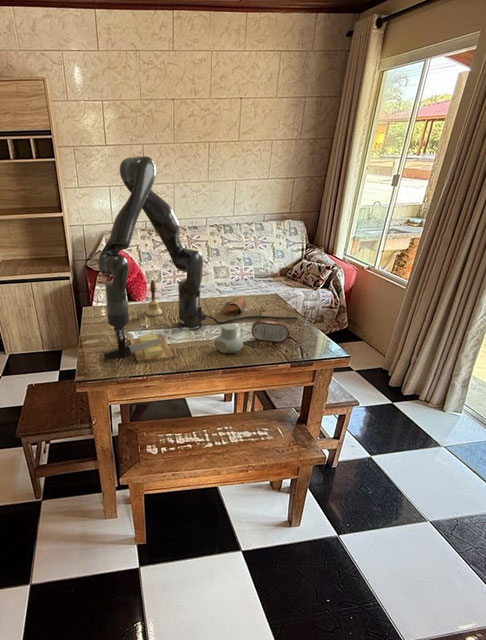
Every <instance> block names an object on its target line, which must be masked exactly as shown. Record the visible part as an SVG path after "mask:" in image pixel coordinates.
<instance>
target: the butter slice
mask: <svg viewBox="0 0 486 640" xmlns="http://www.w3.org/2000/svg"><path fill="white" fill-rule="evenodd" d="M143 355H144V356H145V358H146V357H152V356H158V355H163V350H162V348H161V347H160V346H159V347H153V348H147V349H143Z"/></svg>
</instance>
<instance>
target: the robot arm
mask: <svg viewBox="0 0 486 640" xmlns="http://www.w3.org/2000/svg"><path fill="white" fill-rule="evenodd" d="M119 176H120V178H121V180H122V183H123V184H124V186H125V187H126V188H127V190H128V191H129V192H130V195H129V197H128V198H127V200H126V202H125V203H124V204H123V206H122V207H121V209H120V210H119V211H118V213H117V215H116V217H115V219H114V221H113V224H112V228H111V231H110V235H109V238H108V240H107V242H106V243H105V245H104V247H103V249H102V250H101V252H100V254H99V256H98V260H97V266H98V270H99V271H100V272H101V273H103V274H105V275H109V276H112V280H110V281H108V282H106V283H105V285H104V287H105V297H106V298H105V299H106V313H107V323H108V325H109V326H112V327H113V332H114V338H115V341H116V344H117V348H119V356H123V357H125V346H126V345H127V344H126V341H127V340H126V333H127V332H126V328H125V326H126V325H128V324H129V323H130V318H129V317H130V316H129V315H130V314H129V305H128V300H127V290H126V287H127V280H128V275H129V269H130V265H129V261H128V259H127V258H126V256H124V255H122V254H119V253H120V252H121V251H123V250H127V249H128V248H130V244H131V242H132V237H133V234H134V231H135V227H136V223H137V222H138V218H139V216H140V214H141V212H142V211H143V212H144V214H145V216H146V217H147V219H148V220H149V222H150V224H151V226H152V227H153V230H154V231H155V232H156V234H157V235H158V237H159V238H160V240H161V242H162V244H163V245H164V247H165V248H166V250H167V253H168V255H169V256H170V259H171V261H172V264H173V266H174V267H175V268H176V269H177V270H178V271H180V272H184V273H186V277H185V278H184V279H181V280H179V281H178V284H177V285H178V287H177V288H178V325H179V326H180V327H182V328H186V329H189V330H190V331H193V330H197V329H199V328H200V329H201V328H202V322H203V321H207V318H208V319H212V320H214V322H215V323H217V324H221V325H224V324H228V323H229V322H235V321H238V320H243V319H255V318H257V319H258V318H259V319H262V318H263V319H277V320H298V317H297V316H272V315H271V316H270V315H249V316H248V315H247V316H246V315H245V316H240V317H235V318H231V319H228V320H225V321H219V320H217V318H215V317H214V316H210V315H207V314H206V313H205V312H204V311H202V306H201V285H202V281H203V269H204V258H203V257H204V256H203V254H202V253H201V251H199V250H195V249H191V248H186V247H185V245H184V244H183V242H182V241H181V239H180V221H179V219H178V216H177V215H176V213H175V212H174V209H173V208H172V206H171V205H170V204H169V203H168V202H167V201H166V200H165V199H163V198H162V197H160V196H159V195H158V194H157V193H156V192H155V191H154V190H153V189H152V188H153V185H154V183H155V180H156V176H157V165H156V163H155V161H154V160H153V158H151V156H145V155H142V156H141V155H140V156H131V157H127V158H124V159H122V160H121V162H120V164H119Z"/></svg>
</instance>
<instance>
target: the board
mask: <svg viewBox="0 0 486 640" xmlns="http://www.w3.org/2000/svg"><path fill="white" fill-rule="evenodd" d="M156 336H157V338H160V341H161V344H158V346H160V347H161V348H162V350H163V355H158V356H152V357H146V358H145V356H144V355H143V349H142V350H139V351H136V352H133V354H134V356H135V359H136V361H144V360H153V359H159V358H160V359H161V358H167V357H168V358H169V357H174V353H173V352H172V350H171V348H170V346H169V344H168V342H167V341H166V338H165V337H164V335H156ZM129 342H130V344H131V347H132V346H135V345H138V344H139V337H137V338H129Z"/></svg>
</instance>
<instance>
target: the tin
mask: <svg viewBox="0 0 486 640" xmlns="http://www.w3.org/2000/svg"><path fill="white" fill-rule="evenodd" d="M290 334H291V328H290V325H289V324H288V323H286V322H285V321H280V320H271V319H258V320H256V321H254V323H253V324H252V326H251V335H252V336H253V338H254V339H255V340H258V341H264V342H271V343H272V342H273V343H284V342H285V341H287V340H288V339H289V337H290Z"/></svg>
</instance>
